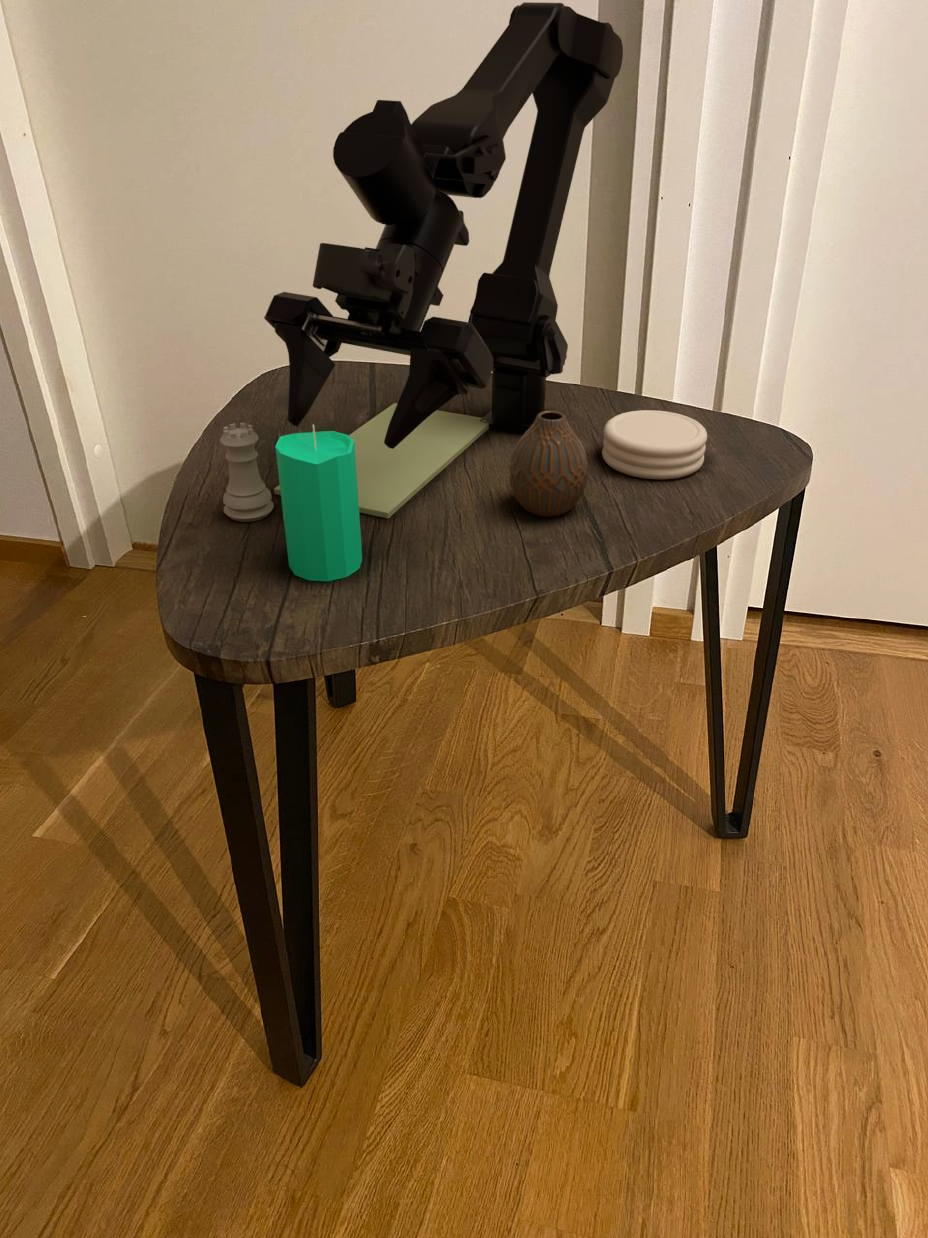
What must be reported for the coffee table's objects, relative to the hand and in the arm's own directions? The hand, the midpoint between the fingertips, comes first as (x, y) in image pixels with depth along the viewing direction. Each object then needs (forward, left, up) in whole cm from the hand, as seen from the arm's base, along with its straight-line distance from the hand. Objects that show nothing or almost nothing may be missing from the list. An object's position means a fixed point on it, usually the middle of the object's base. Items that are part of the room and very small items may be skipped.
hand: (339, 434), depth 77 cm
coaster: (-28, +19, -10) cm, 35 cm away
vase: (-14, +13, -10) cm, 21 cm away
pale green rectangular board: (-18, -5, -10) cm, 21 cm away
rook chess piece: (-2, -11, -10) cm, 15 cm away
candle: (+3, 0, -10) cm, 11 cm away
